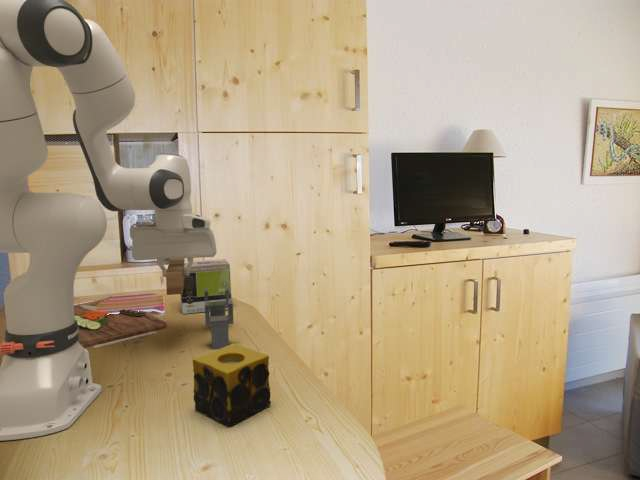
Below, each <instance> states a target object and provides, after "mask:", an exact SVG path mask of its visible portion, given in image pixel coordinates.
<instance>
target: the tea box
mask: <svg viewBox="0 0 640 480" xmlns="http://www.w3.org/2000/svg"><path fill="white" fill-rule="evenodd" d="M188 264H189V262H188V261H184V267H185V268H187V266H188ZM231 286H232V285H231V264H230V263H229V262H228V260H227V259H226V258H217V259H206V260H193V264H192V265H191V267H190V269H189V276H185V279H184V287H183V294H179V295H180V304H181V310H182V311H181V312H182V315H186V314H187V315H188V314H197V313H198V314H199V313H205V298H204V288H208V301H209V302H216V301H225V287H229V292H230V300H231V299H232V287H231ZM226 310H227V311H228V308H225V311H226ZM209 312H210V309H209Z"/></svg>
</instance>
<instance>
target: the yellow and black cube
mask: <svg viewBox="0 0 640 480" xmlns="http://www.w3.org/2000/svg"><path fill="white" fill-rule="evenodd" d="M269 359H270V356H269V355H268V354H266V353H263V352H260V351H257V350H255V349H252V348H249V347H245V346H243V345H241V344H238V343H231V344H229V345H228V346H226V347H223V348H221V349H214V351H210V352H208V353H204V354H203V355H199V356H197V357H195V358H193V359H192V367H193V368H192V372H193V400H194V409H195V411H196V412H199V413H200V414H202V415H205V416H206V417H207V418H210V419H212V420H214V421H216V422H217V423H221V424H223V425H224V426H225V427H228V428H230V427H232V426H235V425H236V424H239V423H241V422H243V421H244V420H246V419H249V418H251V417H252V416H254V415H257V413H259V412H261V411H263V410H265V409H267V408H269V407H270V406H271V402H272V401H271V400H270V399H271V390H270V389H271V388H270V381H269V380H270V371H269V363H270V361H269Z"/></svg>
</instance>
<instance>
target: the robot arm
mask: <svg viewBox="0 0 640 480" xmlns="http://www.w3.org/2000/svg"><path fill="white" fill-rule="evenodd" d="M34 67H35V68H36V67H39V68H40V67H52V68H56V69H57V70H58V71H59V73H60V74H61V75H62V77H63V80H64V82H65V83H66V86H67V88H68V90H69V92H70V94H71V96H72V99H73V101H74V104H75V109H74V110H73V113H72V123H73V128H74V131H75V135H76V137H77V141H78V142H79V145H80V148H81V150H82V153H83V156H84V159H85V162H86V163H87V166H88V169H89V171H90V174H91V176H92V180H93V185H94V191H95V194H96V197H97V199H96V198H94V197H93V196H92V197H91V196H86V195H82V194H77V193H71V192H32V190H31V189H30V185H29V176H31V175H32V174H34V173H35V172H37V171H39V169H41V168H42V167H43V166H44V164H45V163H46V161H47V159H48V157H49V156H48V154H49V149H48V145H47V141H46V138H45V134H44V131H43V128H42V124H41V120H40V117H39V113H38V109H37V106H36V101H35V99H34V97H33V94H32V91H31V75H32V71H33V68H34ZM133 86H134V85H133V83H132V81H131V79H130V77H129V74H128V72H127V70H126V67H125V66H124V63H123V61H122V59H121V57H120V55H119V54H118V51H117V50H116V48H115V46H114V45H113V44H112V41H111V40H110V39H109V37H108V35H107V34H106V33H105V31H104V29H103V28H102V27H101V26H100V25H99V24H98V23H96V21H93V20H92V19H88V18H84V17H83V16H82V14H81V13H80V12H79V11H78V10H77V9H76V8H75V6H73V5H72V4H71V3H69V2H67V1H66V0H0V254H29V263H28V267H27V270H26V271H25V272H23V273H21V274H20V275H18V276H16V277H14V278H13V279H12V280H11V281H10V282H9V283H8V284H7V286H5V289H4V292H3V301H4V309H5V310H4V312H5V320H6V330H5V331H4V338H3V342H1V343H0V354H1V355H3V357H2V358H1V359H2V361H1V363H0V441H13V440H14V441H15V440H22V439H29V438H35V437H41V436H46V435H51V434H54V433H57V432H60V431H63V430H66V429H68V428H71V426H72V425H73V424H74V423H75V422H76V420H77V419H78V418H79V417H80V416H81V415H82V414H83V413H84V412H85V410H87V408H88V407H89V406H90V405H91V404H92V403H93V402H94V400H95V399H96V398H97V397H98V396H99V395H100V393H101V392H102V391H103V390H102V385H101V384H99V383H95V382H93V377H92V370H91V369H92V368H91V363H90V354H89V351H88V350H87V348H84V347H82V346H81V345H80V343H79V342H78V339H79V327H78V323H77V320H75V316H74V304H75V300H74V298H75V297H74V296H75V295H74V293H75V292H74V291H75V288H74V287H75V280H76V275H77V271H78V269H79V267H80V265H81V263H82V261H83V260H84V259H85V257H86V256H87V255H88V254H89V253H90V252H91V251H92V250H93V249H95V248H96V247H97V246H98V245H99V244H100V243H101V242H102V241H103V239H104V237H105V234H106V232H107V227H108V222H107V215H106V212H105V210H104V208H105V209H107V210H108V211H110V212H126V211H154V221H153V220H152V221H136V222H135V223H133V224H132V225H130V227H129V237H130V239H131V240H132V241H131V242H132V243H131V257H132V259H133V260H135V261H145V260H146V261H148V260H149V261H151V260H156V263H157V265H158V267H159V268H160V270H161V272H162V278H166V272H167V269H168V268H166V267H165V266H164V262H165V261H164V260H170V259H176V258H184V259H187V261H186V262H189V264H188V266H187V268H183V276H189V269H190V267H191V265H192V264H193V261H194V258H195V259H196V258H198V259H199V258H214V257H215V256H216V255H217V244H216V243H217V242H216V238H215V235H214V232H213V230H212V228H210V227H211V220H210V218H208V217H206V216H201V215H199V214H195V213H193V207H192V204H191V195H192V194H191V193H192V184H191V182H192V180H191V174H190V166H189V163H188V160H187V159H186V158H185V157H184V156H182V155H179V154H172V153H159V154H157V155H155V157H154V162H153V163H151V164H150V165H147V166H146V167H138V168H137V167H133V168H132V167H131V168H130V167H129V168H127V167H124V166H121V165H120V164H118V163H117V162H116V159H115V157H114V153H113V151H112V147H111V145H110V141H109V138H108V135H107V134H108V133H107V131H109V130H111V129H114V128H115V127H116V126H118V125H119V124H121V123H122V122H123V121H124V120H126V119H127V118H128V117H129V115H130V114H131V113H132V111H133V108H134V107H135V102H136V94H135V93H136V92H135V88H134V87H133ZM97 200H98V201H99V202H98V201H97ZM102 206H103V207H104V208H103V207H102Z"/></svg>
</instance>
